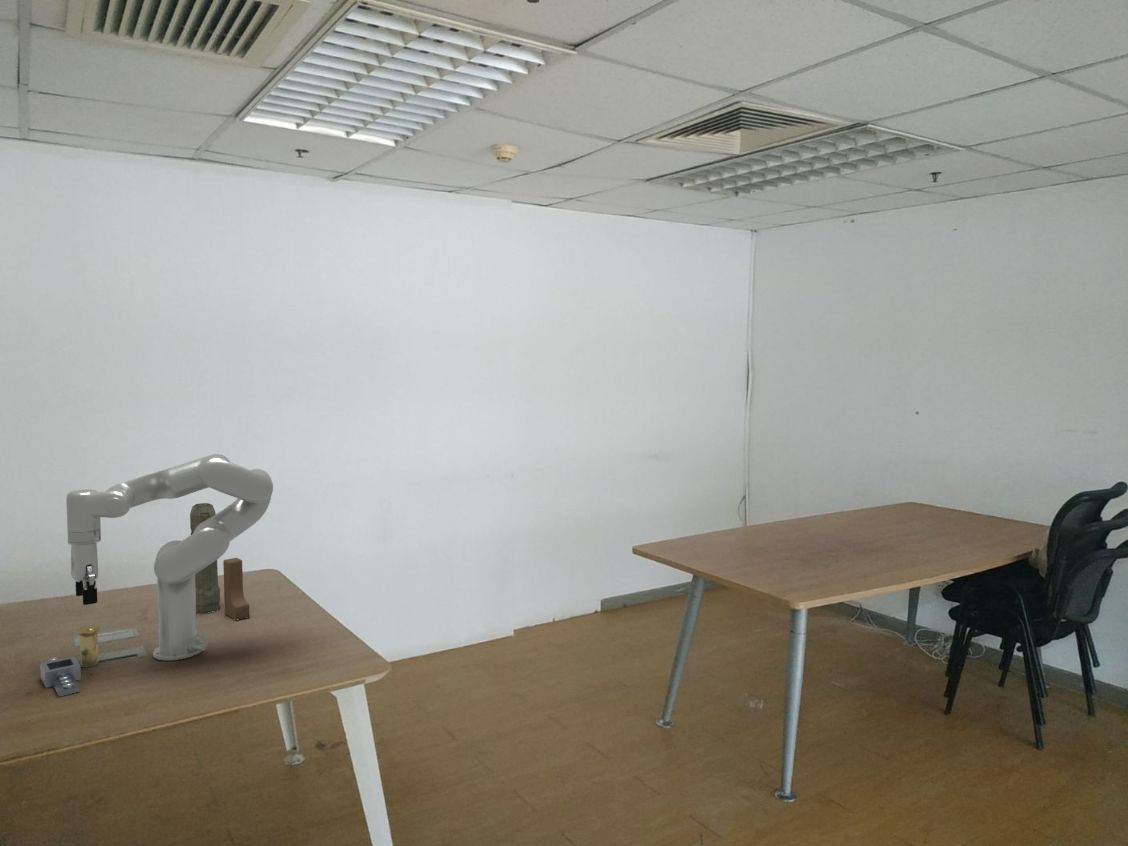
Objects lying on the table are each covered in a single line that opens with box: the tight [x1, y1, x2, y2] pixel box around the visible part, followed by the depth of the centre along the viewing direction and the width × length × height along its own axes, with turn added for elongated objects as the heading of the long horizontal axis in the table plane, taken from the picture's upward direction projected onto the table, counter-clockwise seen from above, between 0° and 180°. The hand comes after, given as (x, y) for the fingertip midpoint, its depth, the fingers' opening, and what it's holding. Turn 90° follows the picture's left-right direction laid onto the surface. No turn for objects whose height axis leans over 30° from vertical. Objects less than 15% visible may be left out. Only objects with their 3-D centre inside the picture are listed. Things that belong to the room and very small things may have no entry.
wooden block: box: [222, 557, 250, 621], centre depth 247 cm, size 9×4×18 cm, turn 45°
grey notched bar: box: [39, 656, 82, 698], centre depth 198 cm, size 24×8×4 cm, turn 42°
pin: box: [77, 624, 100, 668], centre depth 207 cm, size 5×5×10 cm
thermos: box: [189, 502, 221, 614], centre depth 252 cm, size 9×12×35 cm
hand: (86, 599), depth 206 cm, fingers open, 9 cm apart
